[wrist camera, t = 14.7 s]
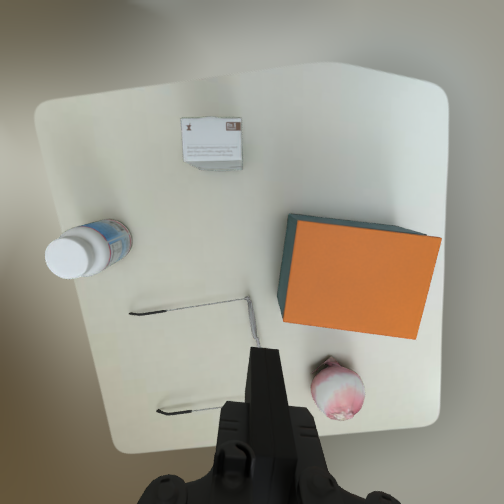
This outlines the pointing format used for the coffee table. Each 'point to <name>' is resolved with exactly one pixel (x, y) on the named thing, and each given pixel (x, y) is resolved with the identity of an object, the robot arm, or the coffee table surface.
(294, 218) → the box
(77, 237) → the pill bottle
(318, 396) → the onion
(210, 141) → the cosmetic box
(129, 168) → the coffee table surface
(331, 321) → the lid
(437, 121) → the coffee table surface
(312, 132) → the coffee table surface
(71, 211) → the coffee table surface
